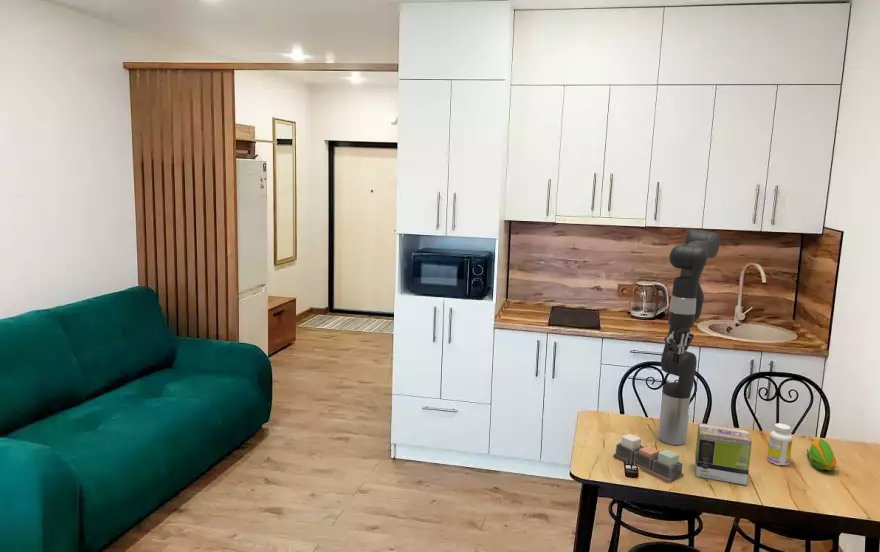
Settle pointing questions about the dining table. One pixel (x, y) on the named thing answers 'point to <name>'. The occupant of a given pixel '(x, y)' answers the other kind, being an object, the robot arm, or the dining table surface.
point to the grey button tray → (649, 464)
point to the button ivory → (631, 441)
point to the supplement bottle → (780, 445)
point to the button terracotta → (648, 452)
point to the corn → (822, 455)
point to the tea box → (723, 453)
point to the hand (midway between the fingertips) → (676, 364)
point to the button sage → (668, 458)
